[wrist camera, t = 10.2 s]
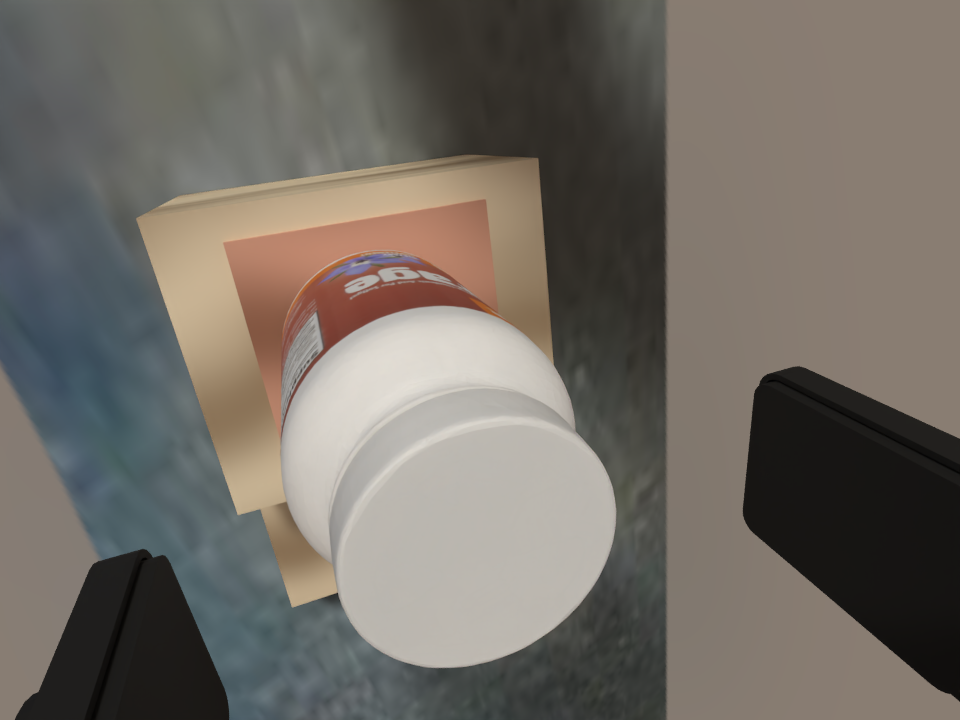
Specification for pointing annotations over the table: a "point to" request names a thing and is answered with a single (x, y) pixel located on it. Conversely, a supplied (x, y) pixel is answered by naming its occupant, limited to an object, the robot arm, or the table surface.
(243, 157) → the table surface
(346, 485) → the pill bottle
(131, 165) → the table surface
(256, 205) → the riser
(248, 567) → the table surface
